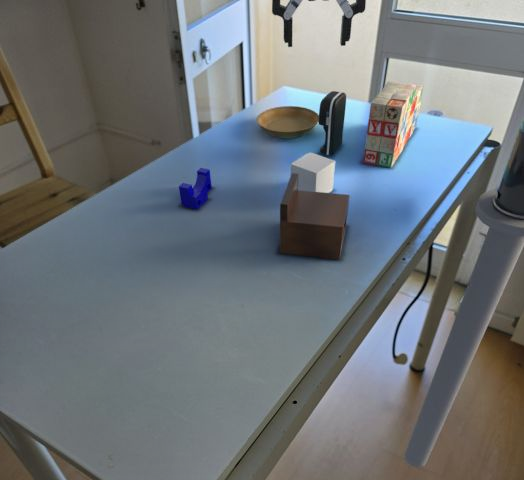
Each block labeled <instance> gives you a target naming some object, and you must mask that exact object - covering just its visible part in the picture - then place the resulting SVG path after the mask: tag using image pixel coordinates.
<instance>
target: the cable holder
mask: <svg viewBox="0 0 524 480" xmlns="http://www.w3.org/2000/svg"><path fill="white" fill-rule="evenodd" d="M211 177H212V176H211V170H210V169H209V168H204V167H200V168H199V169H197V170H196V180H195V183H194V185H193V184H190V183H185V182H182V183H181V184H180V185H178V192H179V198H180V203H181V206H182V207H185V208H189V209H192V210H196V211H197V210H199V209H200V208H201V207H202V206H203V205H204V204H205V203H206V202H207V201H209V197H208V193H209V192H210V191H211V190H212V189H213V188H212V187H213V186H212V178H211Z"/></svg>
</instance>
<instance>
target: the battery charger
mask: <svg viewBox="0 0 524 480" xmlns="http://www.w3.org/2000/svg"><path fill="white" fill-rule="evenodd" d="M346 107H347V94H346V93H345V92H343V91H337V90H332V91H330V92H328V94H326V95H325V96H324V97H323V98H322V100H321V101H320V103H319V110H318V115H319V121H318V125H319V126H323V127H322V128H323V130H324V133H325V135H324V144H323V145H322V146H321V147H320V149H319V153H321V154H322V155H326V156H332V155H333V154H335V152H336V151H337V150H338V149H339V148H340V147H341V145H342V144H343V135H344V126H345V115H346Z"/></svg>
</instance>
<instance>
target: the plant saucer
mask: <svg viewBox="0 0 524 480" xmlns="http://www.w3.org/2000/svg"><path fill="white" fill-rule="evenodd" d="M318 121H319V113H318V112H316V111H315V110H313V109H310V108H307V107H303V106H296V105H284V106H276V107H272V108H269V109H266V110H264V111H262V112H260V113H259V114H258V115H257V117H256V122H257V124H258V125H259V127H260V128H261V129H262V130H263V131H264V132H265V133H267V134H268V135H269V136H271V137H274V138H279V139H296V138H300V137H303V136H305V135H307V134H308V133H310V132H311V131H312V130H313V129H314V128H315V127H316V126H317V124H319V122H318Z"/></svg>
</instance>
